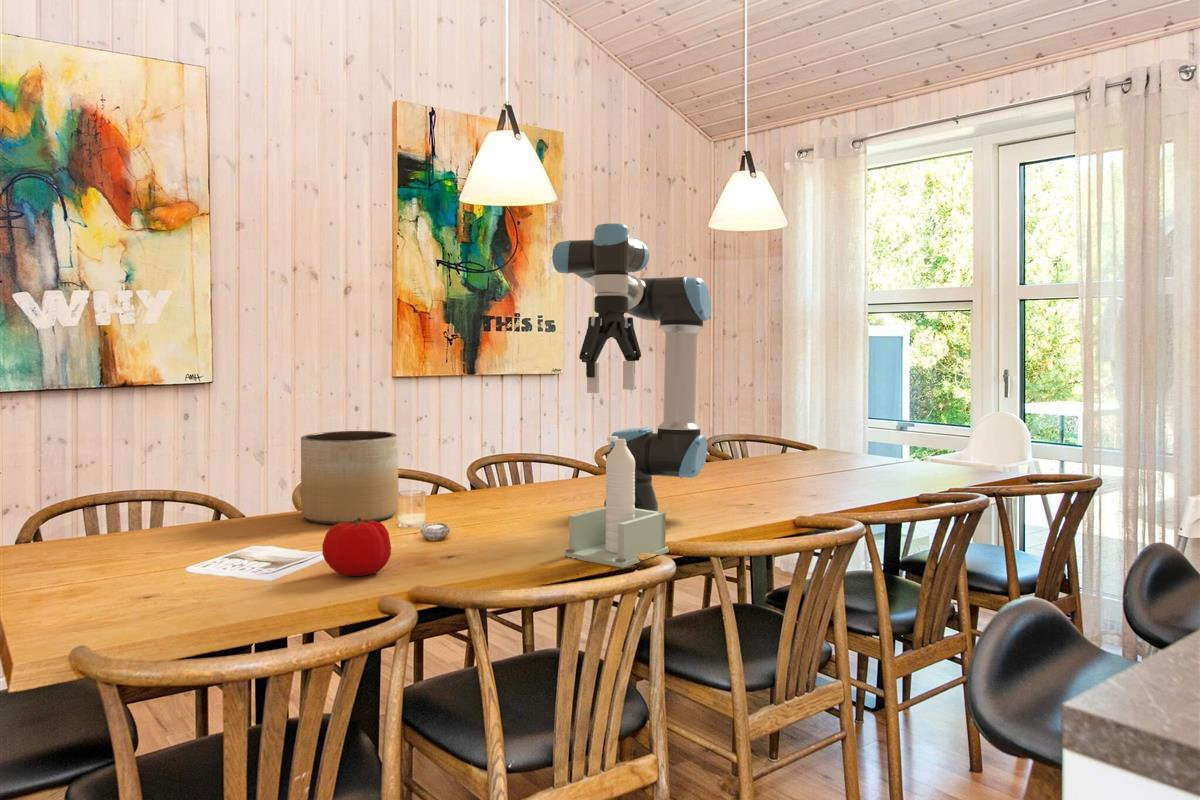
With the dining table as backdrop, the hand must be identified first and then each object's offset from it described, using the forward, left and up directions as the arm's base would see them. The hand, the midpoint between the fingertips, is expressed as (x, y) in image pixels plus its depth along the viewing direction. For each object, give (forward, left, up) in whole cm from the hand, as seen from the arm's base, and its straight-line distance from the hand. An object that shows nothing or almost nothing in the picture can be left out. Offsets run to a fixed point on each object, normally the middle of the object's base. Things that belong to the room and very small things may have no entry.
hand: (611, 391), depth 195 cm
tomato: (+47, -30, -37) cm, 66 cm away
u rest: (+1, +2, -36) cm, 36 cm away
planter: (+11, -80, -37) cm, 88 cm away
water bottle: (0, +2, -36) cm, 36 cm away
